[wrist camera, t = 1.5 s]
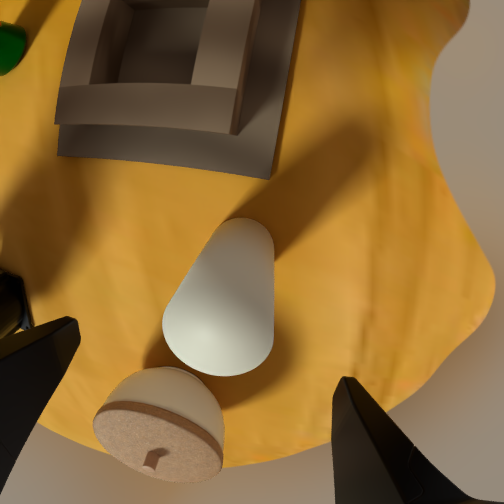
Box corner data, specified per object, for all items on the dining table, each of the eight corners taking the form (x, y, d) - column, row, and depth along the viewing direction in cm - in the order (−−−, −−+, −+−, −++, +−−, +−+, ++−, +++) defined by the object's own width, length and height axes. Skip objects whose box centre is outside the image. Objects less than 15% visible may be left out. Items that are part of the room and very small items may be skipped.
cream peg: (267, 283, 22) (262, 383, 12) (206, 272, 22) (162, 363, 12) (279, 223, 20) (284, 296, 11) (214, 212, 20) (164, 273, 11)
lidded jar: (255, 405, 26) (248, 489, 17) (175, 432, 29) (155, 500, 20) (179, 326, 23) (139, 413, 15) (105, 368, 26) (62, 435, 17)
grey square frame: (269, 179, 19) (268, 187, 15) (61, 155, 19) (27, 160, 15) (306, -30, 14) (311, -61, 10) (101, -26, 14) (77, -45, 10)
